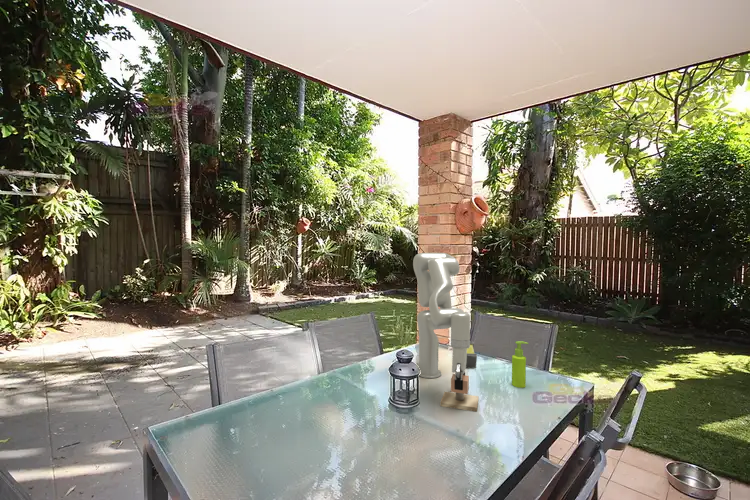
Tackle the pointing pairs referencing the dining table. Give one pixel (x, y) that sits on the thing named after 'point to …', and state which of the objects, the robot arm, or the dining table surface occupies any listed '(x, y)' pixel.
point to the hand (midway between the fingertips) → (459, 385)
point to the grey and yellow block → (471, 356)
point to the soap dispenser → (519, 366)
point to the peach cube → (465, 384)
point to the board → (459, 401)
